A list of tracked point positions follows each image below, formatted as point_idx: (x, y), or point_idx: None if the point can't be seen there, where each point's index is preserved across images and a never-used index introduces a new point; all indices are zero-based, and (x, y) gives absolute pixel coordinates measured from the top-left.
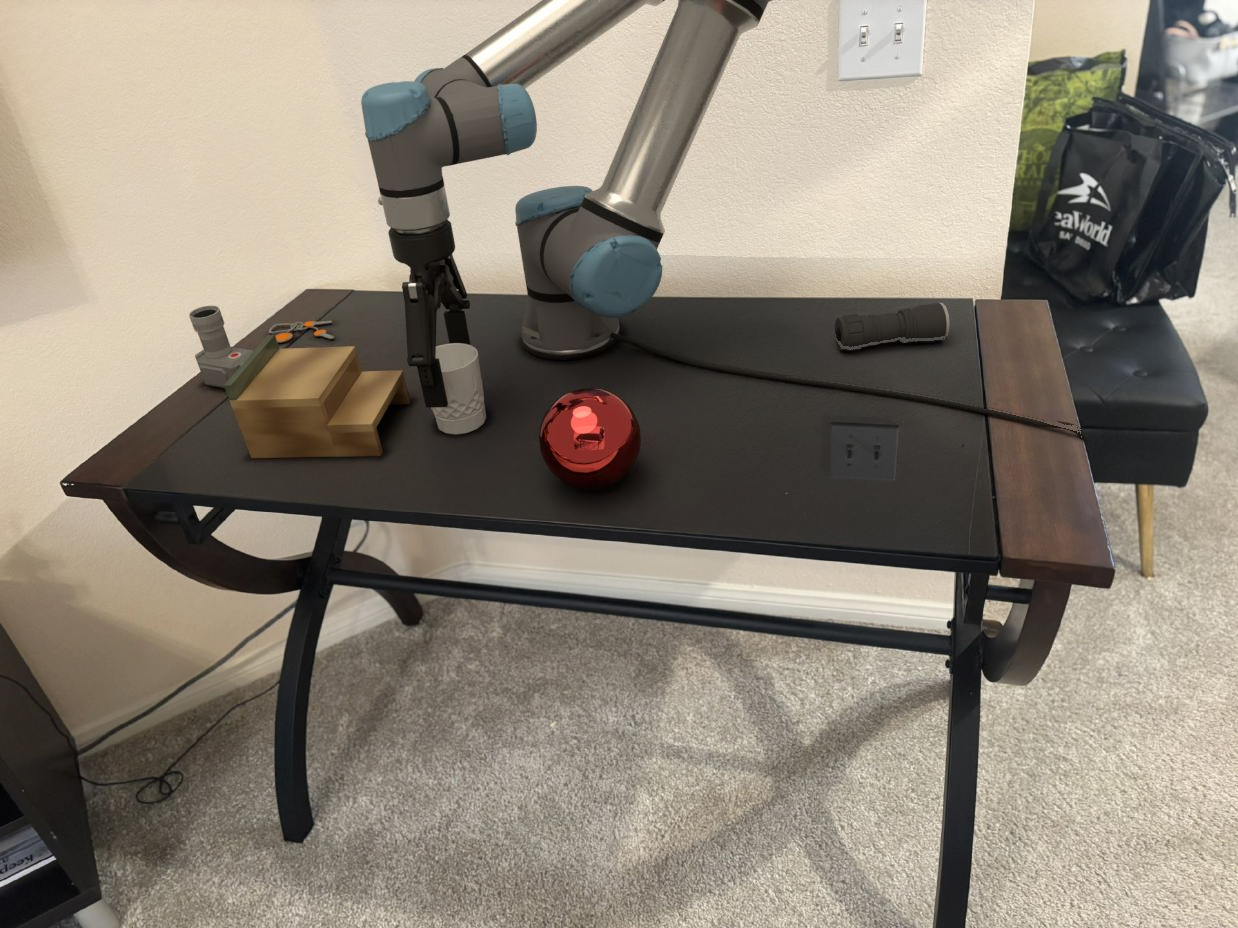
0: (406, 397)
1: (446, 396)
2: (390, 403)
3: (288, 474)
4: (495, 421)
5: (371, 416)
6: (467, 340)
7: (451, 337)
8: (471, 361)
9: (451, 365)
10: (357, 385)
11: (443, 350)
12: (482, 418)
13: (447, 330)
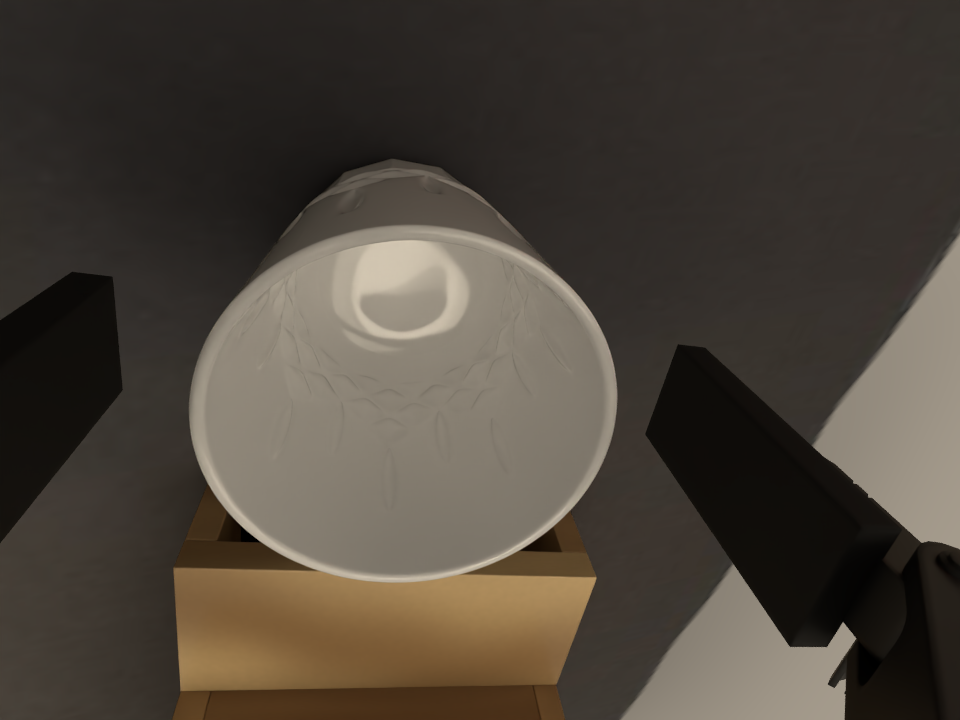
0: None
1: (704, 366)
2: (239, 524)
3: (575, 656)
4: (421, 113)
5: (545, 589)
6: (53, 329)
7: (52, 450)
8: (532, 267)
9: (257, 380)
10: (297, 677)
11: (237, 467)
12: (446, 173)
13: (25, 507)
